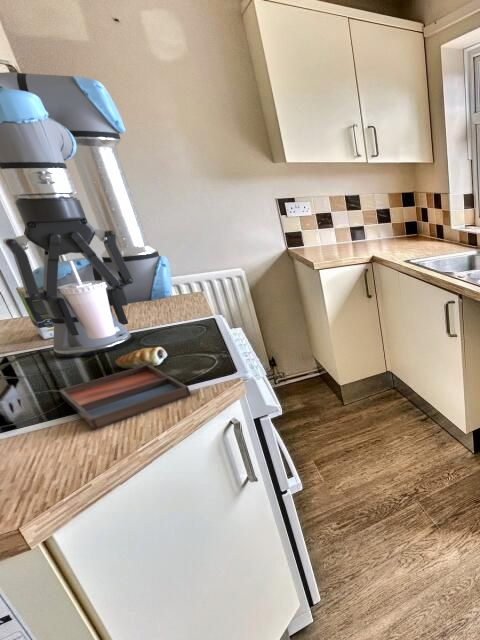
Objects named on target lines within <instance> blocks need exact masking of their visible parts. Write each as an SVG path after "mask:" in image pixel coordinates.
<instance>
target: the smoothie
mask: <svg viewBox="0 0 480 640" xmlns="http://www.w3.org/2000/svg"><path fill="white" fill-rule="evenodd" d="M70 260H71V261H68V262H69V265H70V267H71V270H72V272H73V274H74V277H75V279H76V282H77V283H73V284H68V285H63V286H60V287H58V288H57V290H58V292H59V294H62V295H63V297H64V299H65V300H66V302H67V304H68V305H69V307H70V308H71V310H72V311H73V313H74V315H75V316H76V318H77V319H78V321H79V322H80V324H81V326H82V327H83V329H84V330H85V332H86V334H87V335H88V337H89V338H90V339H98V338H104V337H108V336H111V335H114V334H115V333H116V332H115V327H114V323H113V318H112V314H111V310H110V307H111V306H110V305H109V301H108V296H107V292H106V287H107V285H106V283H105V281H86V282H81V280H80V278H79V275H78V273H77V271H76V268H75V266H74V263H73V261H72V259H70Z"/></svg>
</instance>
